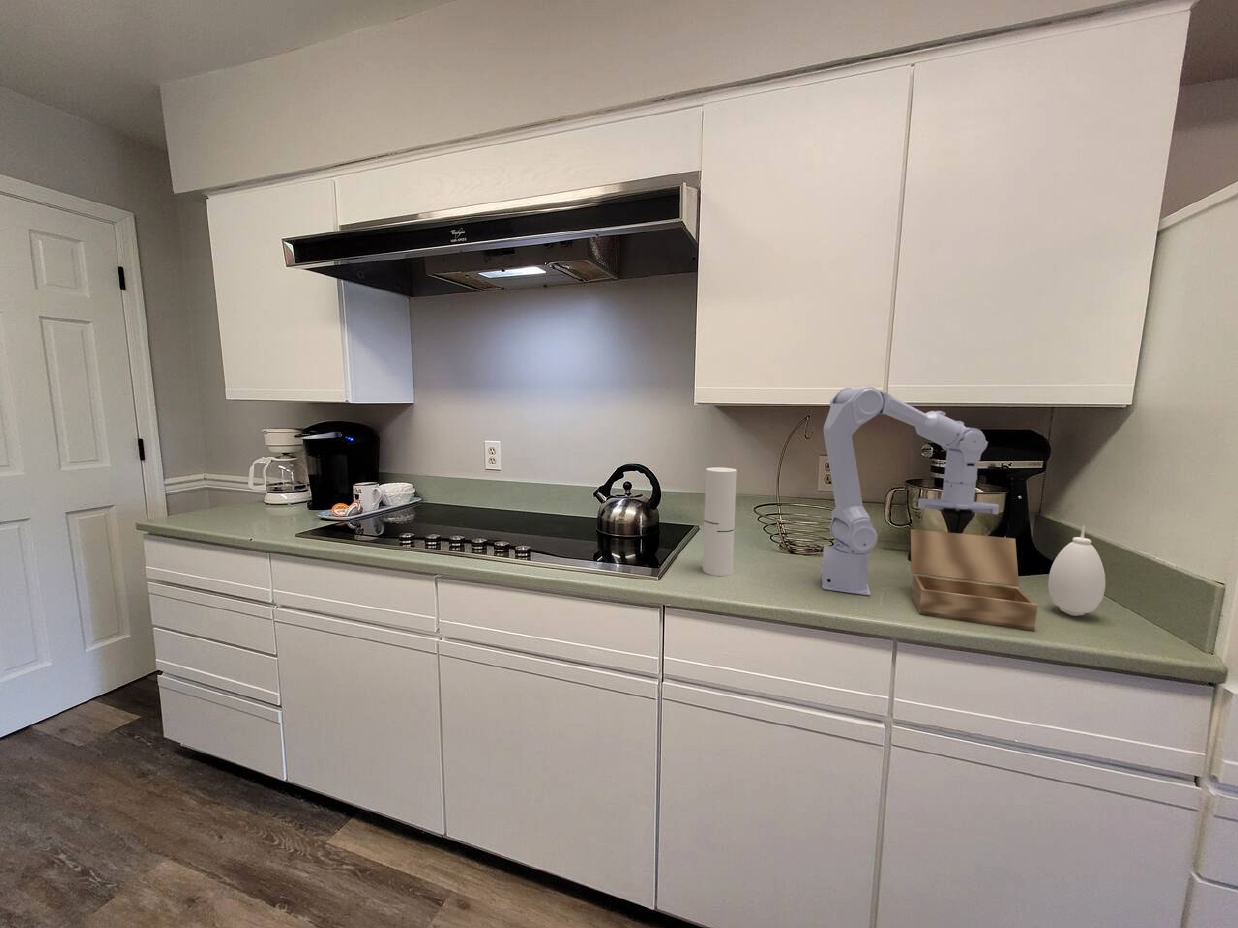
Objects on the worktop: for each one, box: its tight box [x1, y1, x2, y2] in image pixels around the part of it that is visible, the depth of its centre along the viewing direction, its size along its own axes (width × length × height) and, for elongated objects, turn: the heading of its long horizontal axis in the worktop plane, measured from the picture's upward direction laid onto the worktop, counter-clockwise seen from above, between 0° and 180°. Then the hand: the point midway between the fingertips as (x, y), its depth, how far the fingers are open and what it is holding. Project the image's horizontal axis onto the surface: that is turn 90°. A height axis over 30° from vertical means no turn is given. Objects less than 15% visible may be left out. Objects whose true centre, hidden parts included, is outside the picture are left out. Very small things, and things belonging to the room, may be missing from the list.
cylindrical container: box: [702, 467, 738, 577], centre depth 116 cm, size 7×7×25 cm
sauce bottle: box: [1047, 524, 1106, 617], centre depth 94 cm, size 8×8×18 cm
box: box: [910, 574, 1038, 632], centre depth 95 cm, size 18×9×5 cm, turn 68°
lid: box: [910, 528, 1020, 587], centre depth 101 cm, size 18×10×1 cm
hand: (953, 542), depth 107 cm, fingers closed
